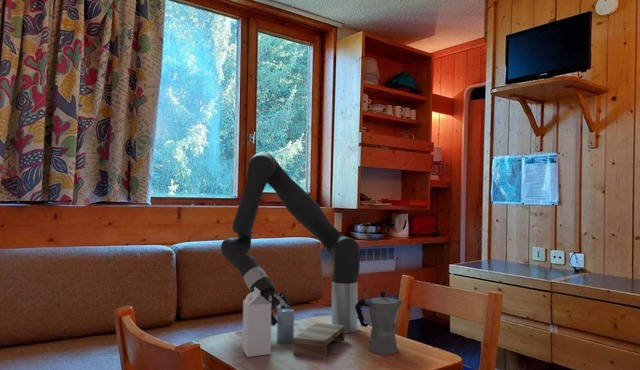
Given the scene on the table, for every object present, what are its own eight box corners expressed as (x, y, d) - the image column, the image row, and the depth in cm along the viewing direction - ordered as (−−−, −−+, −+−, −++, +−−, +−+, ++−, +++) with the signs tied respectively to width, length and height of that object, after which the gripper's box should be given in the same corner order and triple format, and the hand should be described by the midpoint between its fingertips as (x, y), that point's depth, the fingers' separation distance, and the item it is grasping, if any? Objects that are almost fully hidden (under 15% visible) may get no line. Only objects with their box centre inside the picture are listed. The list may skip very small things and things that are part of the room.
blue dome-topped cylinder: (281, 338, 154) (281, 308, 154) (296, 339, 152) (296, 309, 152) (274, 342, 149) (274, 311, 149) (289, 344, 147) (289, 312, 147)
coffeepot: (397, 344, 147) (397, 287, 148) (408, 353, 138) (408, 293, 139) (351, 347, 144) (351, 289, 145) (359, 356, 135) (359, 294, 136)
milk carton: (265, 348, 143) (265, 286, 144) (270, 354, 136) (271, 290, 137) (242, 350, 140) (243, 287, 141) (247, 357, 134) (248, 291, 135)
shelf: (316, 337, 154) (316, 322, 155) (344, 340, 151) (344, 325, 151) (293, 354, 137) (293, 337, 137) (324, 358, 133) (325, 341, 133)
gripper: (249, 278, 151) (275, 318, 144) (278, 273, 162) (303, 310, 155) (238, 293, 154) (263, 333, 147) (267, 287, 165) (291, 324, 158)
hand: (284, 321), depth 151 cm, fingers open, 8 cm apart
